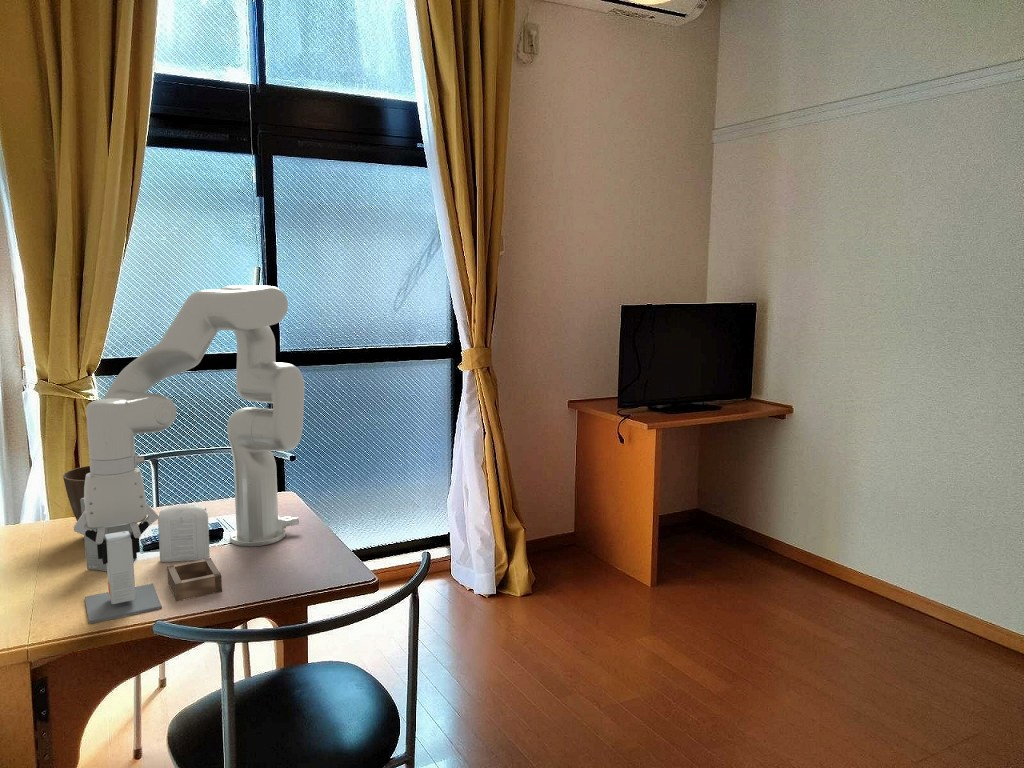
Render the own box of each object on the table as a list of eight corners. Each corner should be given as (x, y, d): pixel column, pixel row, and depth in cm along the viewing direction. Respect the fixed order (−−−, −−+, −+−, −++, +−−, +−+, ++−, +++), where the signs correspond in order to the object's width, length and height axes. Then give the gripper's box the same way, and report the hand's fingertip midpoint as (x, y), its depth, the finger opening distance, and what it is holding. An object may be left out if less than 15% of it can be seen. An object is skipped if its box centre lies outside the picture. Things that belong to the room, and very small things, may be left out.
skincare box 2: (107, 593, 142) (104, 533, 141) (132, 589, 145) (129, 530, 143) (110, 605, 137) (106, 543, 136) (136, 600, 140) (132, 539, 138)
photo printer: (211, 553, 167) (208, 500, 165) (208, 560, 163) (205, 506, 161) (162, 556, 165) (159, 503, 163) (158, 564, 161) (154, 509, 159)
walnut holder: (211, 573, 156) (210, 557, 155) (222, 591, 147) (221, 575, 147) (168, 582, 151) (167, 566, 151) (176, 601, 143) (175, 584, 142)
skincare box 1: (112, 573, 156) (106, 500, 154) (82, 570, 157) (77, 498, 155) (139, 558, 164) (135, 489, 162) (111, 555, 165) (106, 486, 163)
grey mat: (153, 585, 150) (153, 583, 150) (161, 608, 140) (161, 605, 140) (84, 599, 143) (84, 596, 143) (89, 623, 133) (88, 621, 133)
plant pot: (136, 522, 187) (132, 460, 185) (141, 540, 175) (137, 474, 172) (67, 532, 180) (62, 468, 177) (68, 552, 167) (62, 483, 165)
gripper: (159, 455, 145) (165, 545, 148) (59, 466, 136) (67, 561, 139) (165, 464, 139) (170, 557, 142) (61, 476, 130) (68, 575, 133)
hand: (119, 558), depth 140 cm, fingers closed on skincare box 2, 4 cm apart
